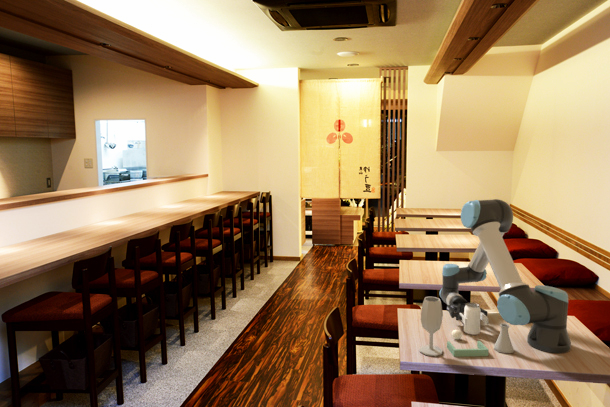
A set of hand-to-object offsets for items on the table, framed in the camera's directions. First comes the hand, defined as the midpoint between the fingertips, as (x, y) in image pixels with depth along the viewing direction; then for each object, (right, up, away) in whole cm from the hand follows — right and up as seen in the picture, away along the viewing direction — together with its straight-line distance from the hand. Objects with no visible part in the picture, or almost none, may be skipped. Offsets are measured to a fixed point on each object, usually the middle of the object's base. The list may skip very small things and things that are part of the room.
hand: (476, 321), depth 184 cm
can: (0, -6, +5) cm, 8 cm away
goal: (-9, -8, -13) cm, 17 cm away
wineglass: (-23, -9, -13) cm, 27 cm away
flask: (+6, -8, -12) cm, 15 cm away
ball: (-9, -5, -2) cm, 10 cm away
